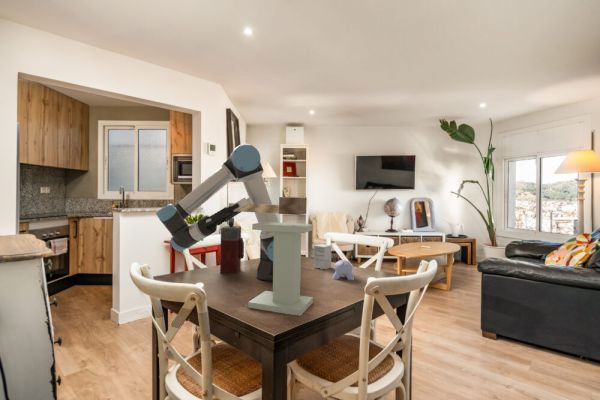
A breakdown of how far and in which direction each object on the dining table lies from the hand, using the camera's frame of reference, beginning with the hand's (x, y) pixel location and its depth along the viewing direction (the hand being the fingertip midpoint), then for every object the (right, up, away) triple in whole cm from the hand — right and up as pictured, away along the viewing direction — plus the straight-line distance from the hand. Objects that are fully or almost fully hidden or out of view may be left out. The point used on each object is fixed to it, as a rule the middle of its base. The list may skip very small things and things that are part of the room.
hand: (248, 200), depth 121 cm
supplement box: (+32, -38, +55) cm, 74 cm away
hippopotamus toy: (+41, -38, +37) cm, 67 cm away
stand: (+13, -39, -4) cm, 41 cm away
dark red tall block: (-15, -37, +43) cm, 59 cm away
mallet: (+7, -4, -2) cm, 8 cm away
